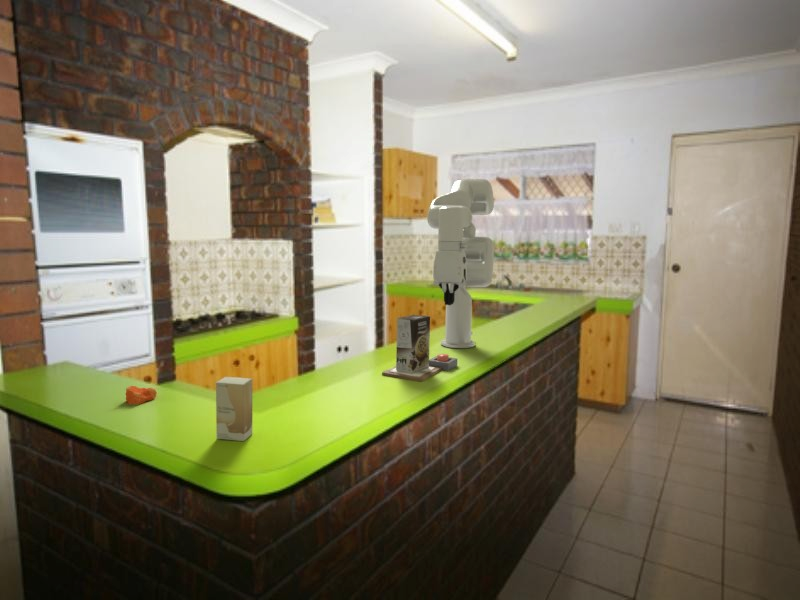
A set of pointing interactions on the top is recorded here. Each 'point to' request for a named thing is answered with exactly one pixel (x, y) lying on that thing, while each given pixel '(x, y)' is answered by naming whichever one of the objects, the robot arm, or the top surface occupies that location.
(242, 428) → the skincare box
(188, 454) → the top surface
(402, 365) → the coffee box
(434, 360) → the button collar
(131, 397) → the rock
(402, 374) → the board
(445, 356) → the button
